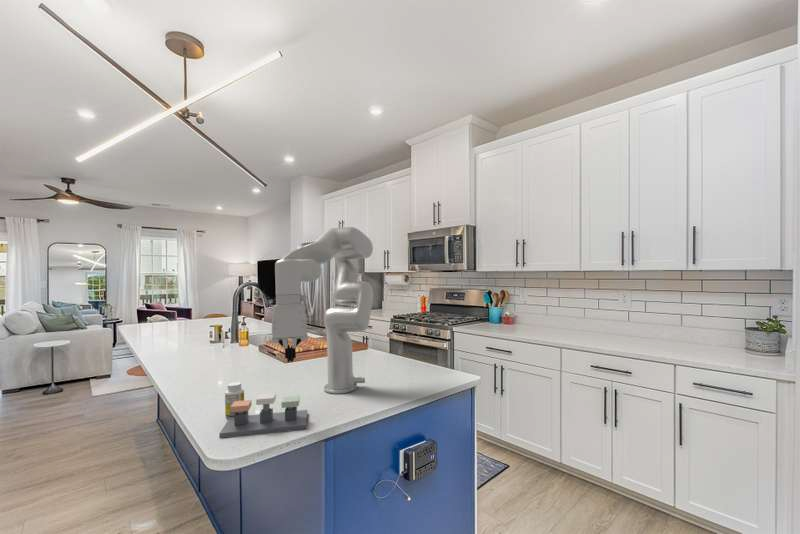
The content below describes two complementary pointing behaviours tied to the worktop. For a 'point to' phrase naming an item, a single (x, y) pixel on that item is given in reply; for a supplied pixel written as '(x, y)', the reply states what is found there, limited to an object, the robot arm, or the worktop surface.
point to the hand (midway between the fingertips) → (290, 360)
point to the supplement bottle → (233, 397)
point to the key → (241, 406)
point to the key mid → (266, 400)
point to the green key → (290, 402)
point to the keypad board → (264, 422)
